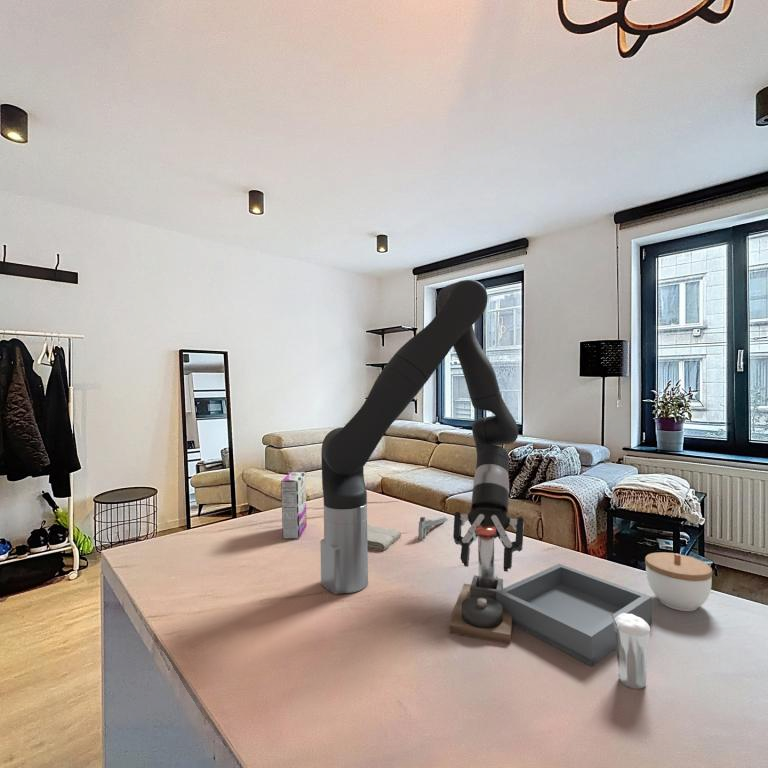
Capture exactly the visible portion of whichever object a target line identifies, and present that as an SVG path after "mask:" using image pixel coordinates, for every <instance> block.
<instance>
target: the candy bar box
mask: <svg viewBox="0 0 768 768" xmlns="http://www.w3.org/2000/svg"><path fill="white" fill-rule="evenodd" d="M280 488H281V490H280V491H281V492H280V493H281V494H280V495H281V496H280V497H281V515H282V516H281V517H282V518H281V519H282V522H281V523H282V539H283V540H297V539H300V538H301V537H302V535H303V532H305V529H306V527H307V499H306V498H307V494H306V490H307V489H306V488H307V487H306V472H304V471H296V472H295V471H292V472H289V473H288V474H287V475H286V476H285V477H284V478H283V479H282V480H281V481H280Z"/></svg>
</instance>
